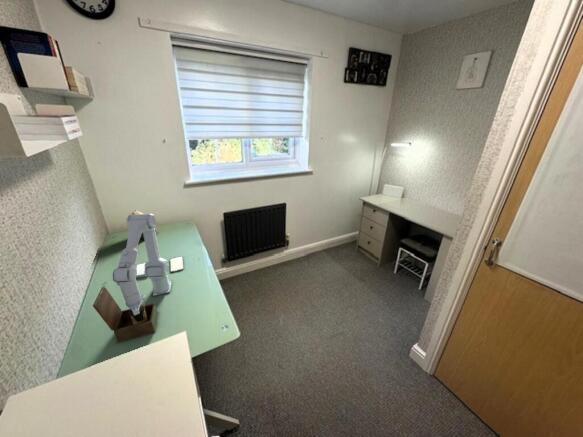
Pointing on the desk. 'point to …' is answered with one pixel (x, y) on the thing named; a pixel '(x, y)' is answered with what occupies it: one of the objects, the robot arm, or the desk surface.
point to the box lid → (107, 308)
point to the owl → (142, 213)
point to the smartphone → (176, 264)
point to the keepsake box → (129, 330)
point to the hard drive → (140, 270)
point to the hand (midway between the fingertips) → (139, 316)
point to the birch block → (143, 317)
